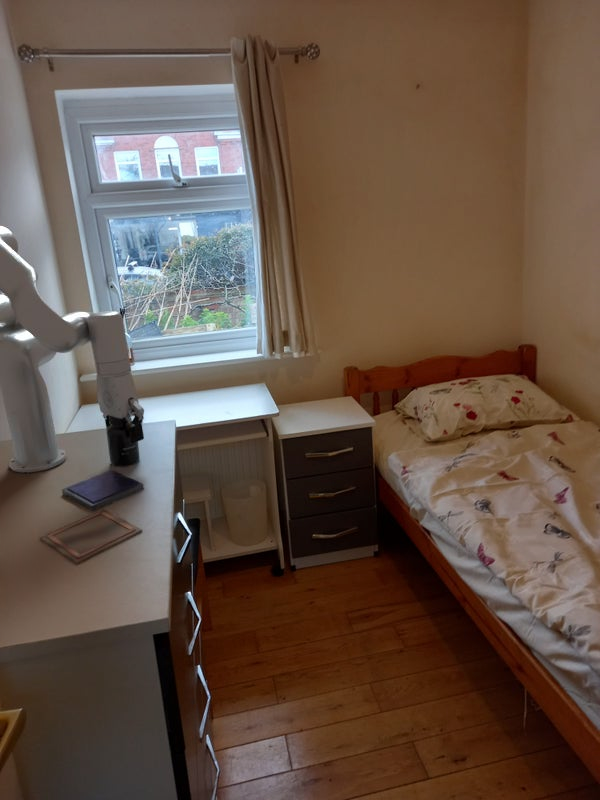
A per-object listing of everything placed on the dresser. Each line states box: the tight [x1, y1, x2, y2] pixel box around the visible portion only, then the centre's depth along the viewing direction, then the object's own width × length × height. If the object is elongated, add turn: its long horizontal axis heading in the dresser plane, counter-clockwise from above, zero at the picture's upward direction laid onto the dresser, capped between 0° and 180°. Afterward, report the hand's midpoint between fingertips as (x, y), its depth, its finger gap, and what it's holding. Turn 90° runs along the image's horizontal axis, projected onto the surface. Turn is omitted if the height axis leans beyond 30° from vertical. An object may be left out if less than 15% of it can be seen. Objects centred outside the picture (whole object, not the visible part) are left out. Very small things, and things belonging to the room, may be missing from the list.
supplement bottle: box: [105, 412, 140, 467], centre depth 133 cm, size 7×7×12 cm
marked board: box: [39, 508, 143, 565], centre depth 104 cm, size 13×13×1 cm
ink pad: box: [61, 469, 145, 512], centre depth 120 cm, size 12×12×2 cm
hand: (125, 436), depth 133 cm, fingers open, 9 cm apart
